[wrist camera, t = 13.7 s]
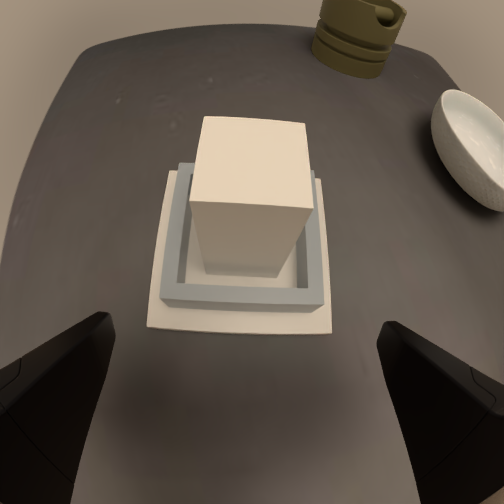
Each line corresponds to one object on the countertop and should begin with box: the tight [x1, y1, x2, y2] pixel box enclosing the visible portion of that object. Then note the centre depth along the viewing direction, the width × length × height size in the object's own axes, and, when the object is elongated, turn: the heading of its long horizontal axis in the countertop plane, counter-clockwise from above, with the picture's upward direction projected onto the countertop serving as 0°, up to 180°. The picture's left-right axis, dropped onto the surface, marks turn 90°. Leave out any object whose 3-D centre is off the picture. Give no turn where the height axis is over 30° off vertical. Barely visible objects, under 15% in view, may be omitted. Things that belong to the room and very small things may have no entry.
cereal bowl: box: [431, 90, 504, 212], centre depth 26 cm, size 17×17×7 cm
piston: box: [311, 0, 407, 79], centre depth 30 cm, size 11×12×11 cm
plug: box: [189, 116, 314, 278], centre depth 17 cm, size 5×5×10 cm
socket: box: [147, 163, 332, 335], centre depth 21 cm, size 13×13×4 cm
